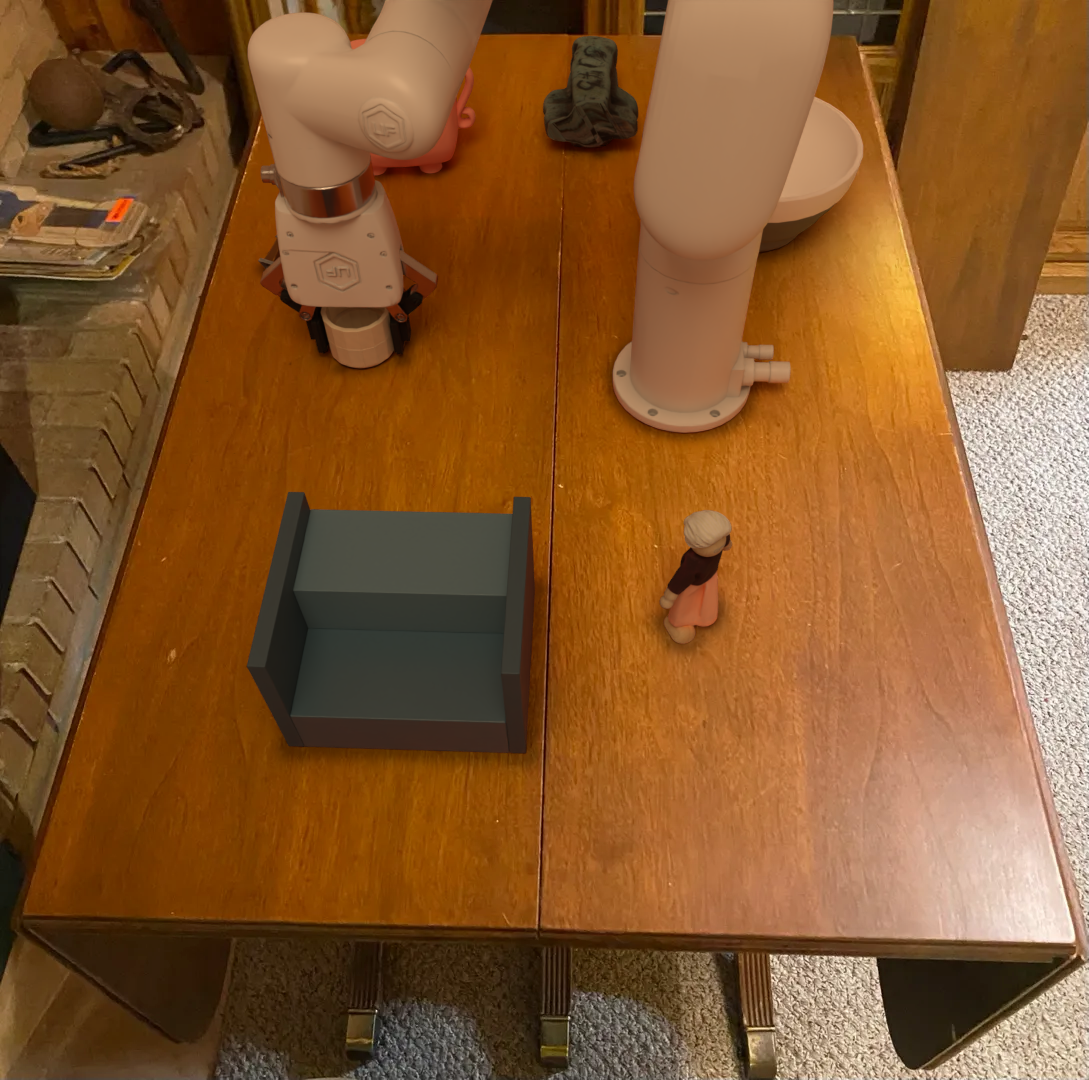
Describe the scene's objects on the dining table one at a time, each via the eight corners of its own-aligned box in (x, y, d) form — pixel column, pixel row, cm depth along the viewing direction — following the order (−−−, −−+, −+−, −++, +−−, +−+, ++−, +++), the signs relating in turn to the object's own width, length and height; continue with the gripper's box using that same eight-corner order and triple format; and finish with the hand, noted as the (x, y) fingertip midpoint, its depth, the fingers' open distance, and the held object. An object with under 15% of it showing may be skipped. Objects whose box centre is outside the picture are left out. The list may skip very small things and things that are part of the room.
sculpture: (669, 117, 112) (626, 68, 123) (639, 60, 107) (596, 14, 117) (578, 184, 115) (543, 130, 125) (545, 132, 110) (511, 81, 120)
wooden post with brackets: (321, 218, 108) (304, 194, 103) (291, 285, 106) (271, 264, 102) (307, 214, 108) (289, 190, 104) (276, 280, 107) (256, 259, 103)
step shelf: (535, 589, 81) (530, 496, 71) (526, 753, 73) (519, 674, 63) (320, 584, 82) (287, 491, 72) (288, 746, 74) (246, 666, 64)
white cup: (401, 325, 99) (394, 285, 95) (392, 372, 96) (385, 332, 92) (336, 324, 100) (327, 284, 95) (326, 370, 96) (315, 331, 92)
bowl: (659, 161, 114) (666, 80, 106) (837, 170, 113) (857, 88, 105) (650, 276, 103) (657, 195, 95) (847, 287, 101) (871, 206, 94)
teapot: (398, 212, 110) (382, 102, 99) (306, 148, 117) (281, 39, 106) (500, 153, 116) (494, 44, 105) (407, 96, 123) (392, -12, 112)
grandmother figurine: (691, 663, 77) (711, 569, 67) (647, 640, 78) (659, 544, 68) (736, 590, 81) (761, 490, 70) (693, 569, 82) (711, 468, 72)
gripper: (211, 208, 81) (265, 370, 95) (429, 210, 80) (450, 373, 95) (232, 152, 85) (280, 315, 100) (438, 154, 84) (457, 318, 99)
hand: (362, 342), depth 97 cm, fingers open, 6 cm apart
